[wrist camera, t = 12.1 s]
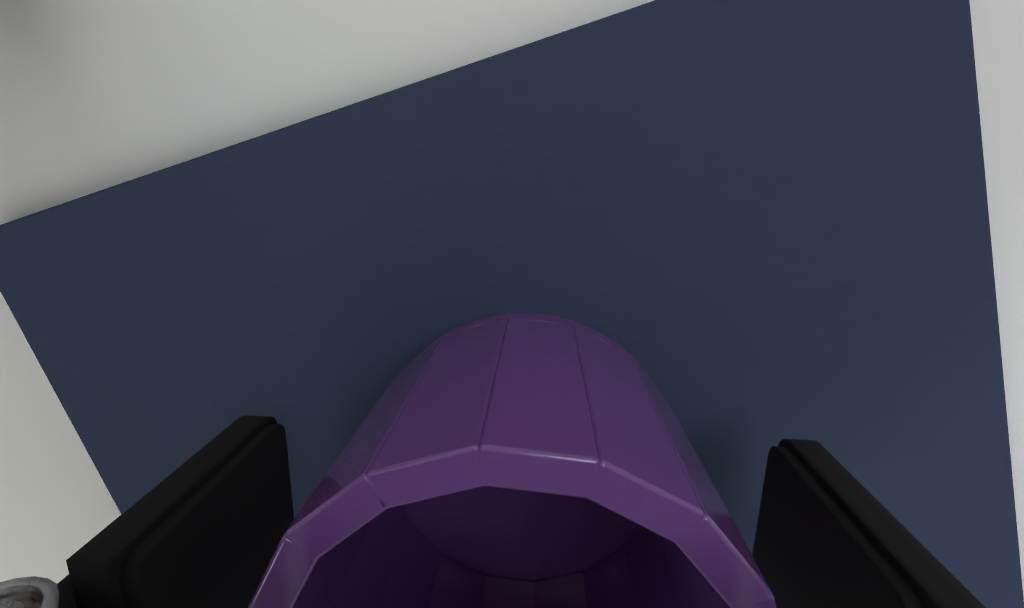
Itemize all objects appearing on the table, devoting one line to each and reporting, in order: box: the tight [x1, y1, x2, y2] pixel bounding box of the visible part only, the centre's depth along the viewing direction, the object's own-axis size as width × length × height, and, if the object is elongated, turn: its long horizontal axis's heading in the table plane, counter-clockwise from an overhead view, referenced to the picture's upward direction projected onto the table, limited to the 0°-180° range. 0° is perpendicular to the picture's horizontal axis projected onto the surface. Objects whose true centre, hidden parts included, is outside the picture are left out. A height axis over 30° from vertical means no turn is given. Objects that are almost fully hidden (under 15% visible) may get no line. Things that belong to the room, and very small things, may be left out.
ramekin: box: [247, 313, 777, 608], centre depth 9 cm, size 7×7×6 cm
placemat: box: [0, 0, 1024, 608], centre depth 12 cm, size 20×16×1 cm
